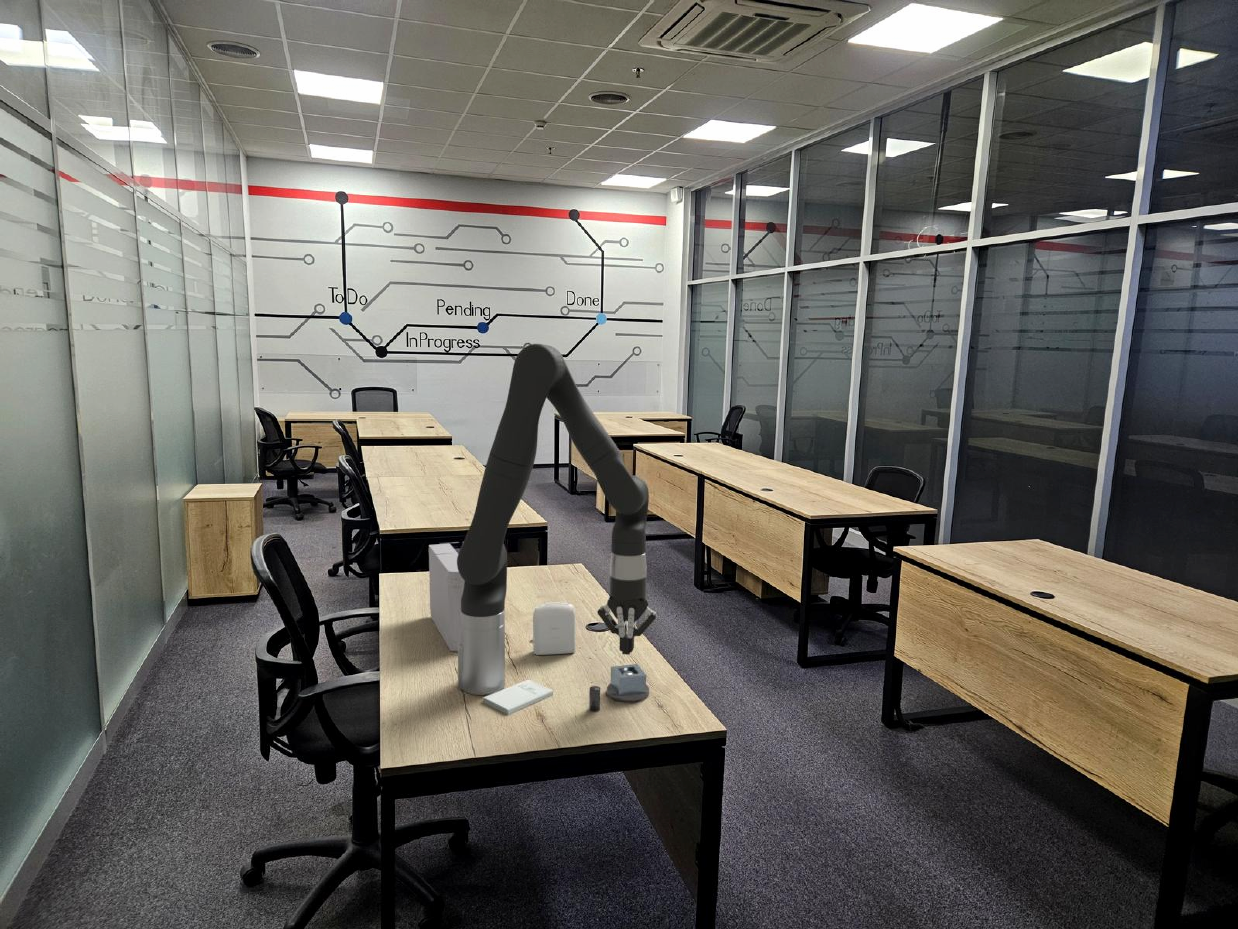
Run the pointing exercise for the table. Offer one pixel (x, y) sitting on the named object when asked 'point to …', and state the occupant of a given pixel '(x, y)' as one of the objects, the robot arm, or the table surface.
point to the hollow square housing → (628, 680)
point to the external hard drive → (517, 696)
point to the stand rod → (594, 698)
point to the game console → (446, 593)
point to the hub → (627, 698)
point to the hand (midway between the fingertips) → (626, 653)
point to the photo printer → (554, 629)
